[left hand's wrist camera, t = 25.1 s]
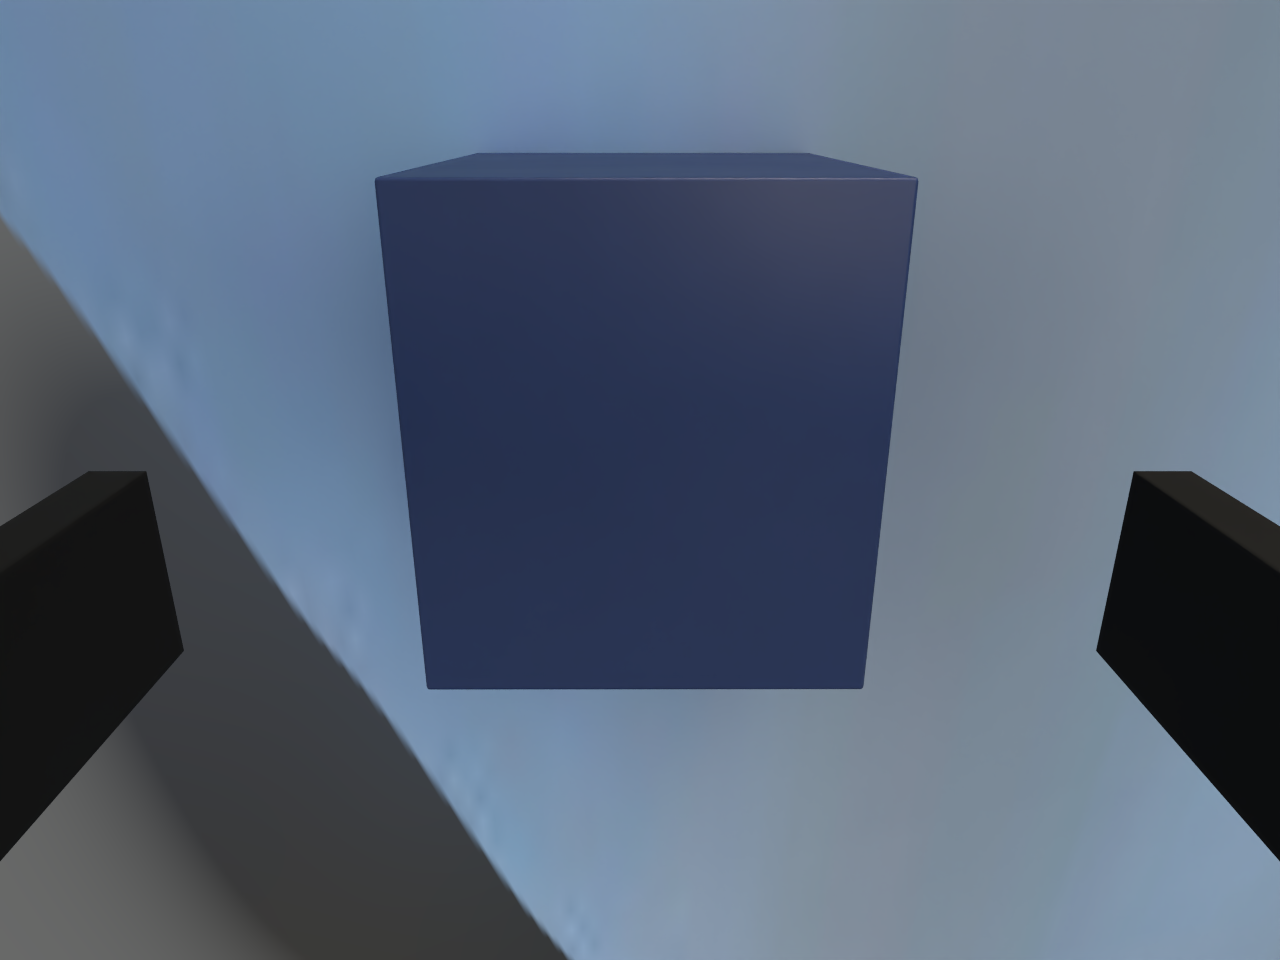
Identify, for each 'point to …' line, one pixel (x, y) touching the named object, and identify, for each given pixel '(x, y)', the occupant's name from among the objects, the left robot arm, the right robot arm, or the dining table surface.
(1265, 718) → the left robot arm
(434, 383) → the block
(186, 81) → the dining table surface
